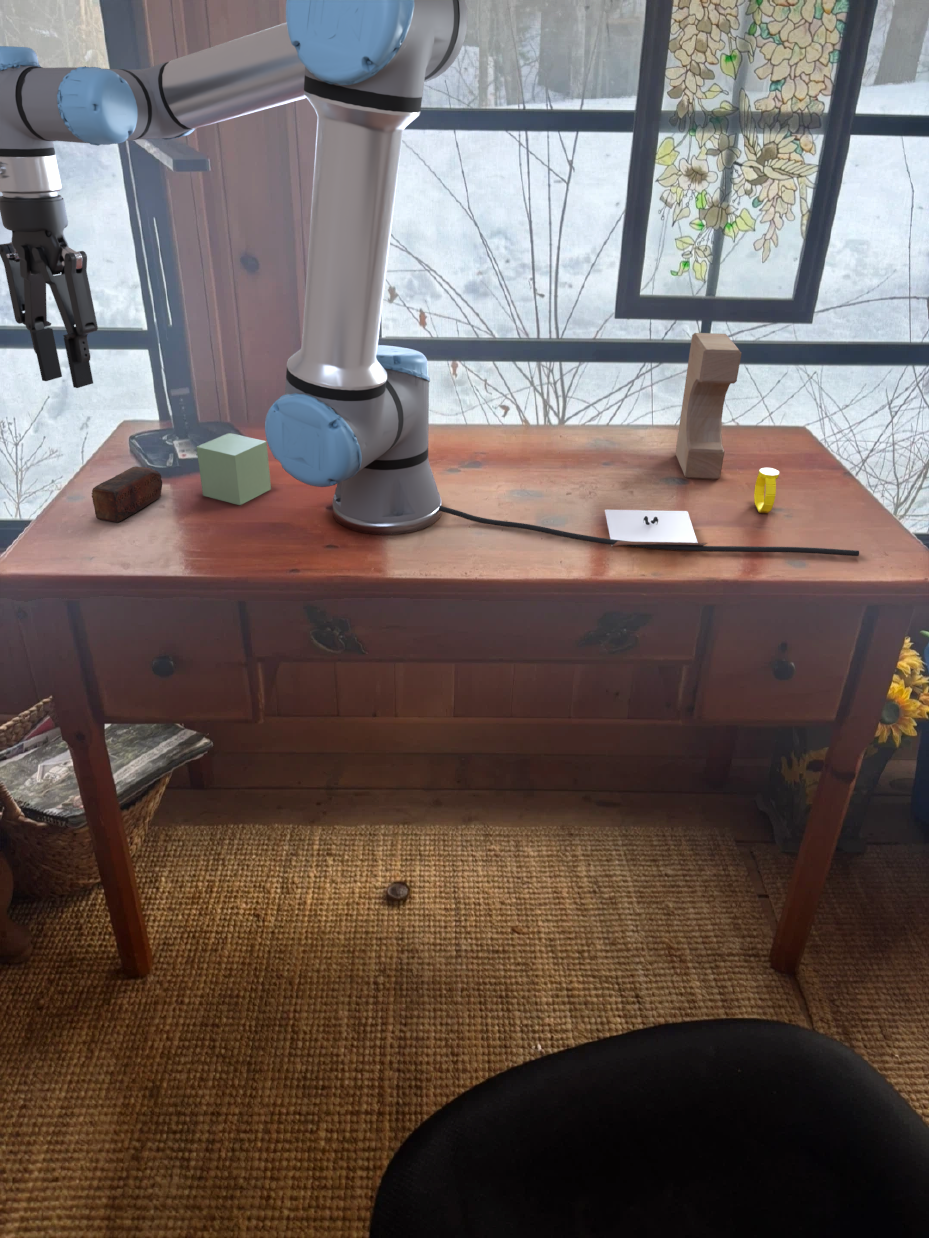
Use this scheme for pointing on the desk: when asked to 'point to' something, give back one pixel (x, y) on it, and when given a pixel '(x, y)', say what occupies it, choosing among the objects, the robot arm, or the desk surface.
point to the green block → (234, 468)
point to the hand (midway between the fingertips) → (67, 381)
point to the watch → (768, 478)
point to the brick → (126, 493)
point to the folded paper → (651, 527)
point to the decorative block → (705, 404)
